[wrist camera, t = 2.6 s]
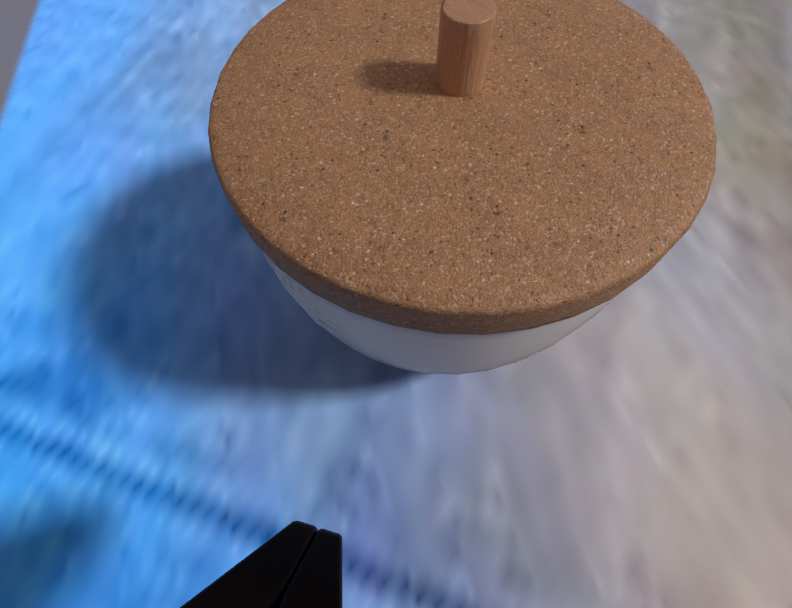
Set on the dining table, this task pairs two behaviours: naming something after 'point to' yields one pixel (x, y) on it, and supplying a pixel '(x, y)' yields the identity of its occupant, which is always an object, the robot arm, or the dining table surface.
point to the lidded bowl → (460, 167)
